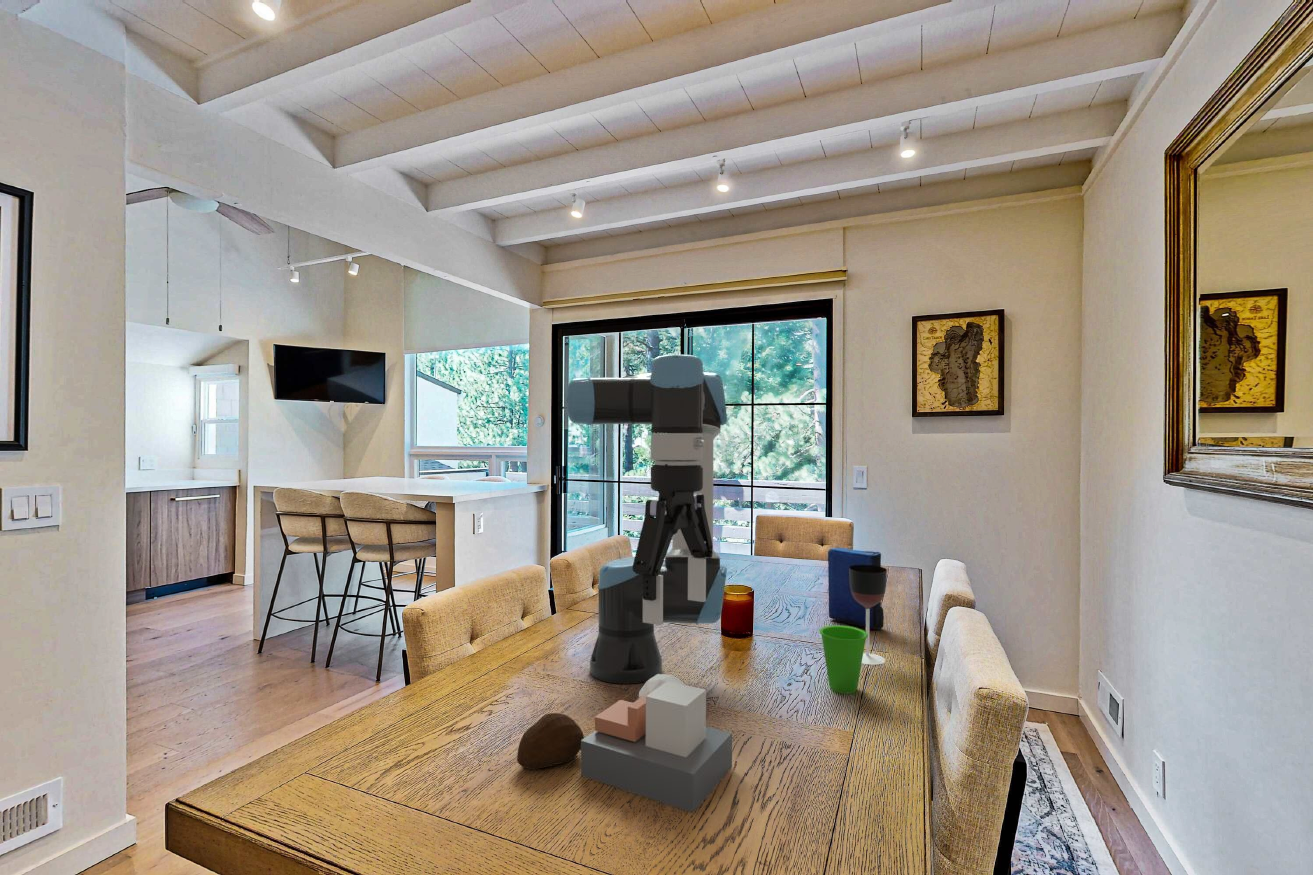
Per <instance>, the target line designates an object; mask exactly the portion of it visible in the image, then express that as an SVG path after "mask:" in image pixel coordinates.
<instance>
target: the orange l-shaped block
mask: <svg viewBox="0 0 1313 875" xmlns="http://www.w3.org/2000/svg"><path fill="white" fill-rule="evenodd" d="M650 693H651V692H648V693H646V694H645V695H644V696H642V697H641V698H639V697H638V699H636V700H635V701H634V702H632V701H627V700H622V699H619V700H618V701H616V702H615V703H613V704H612V705H610V706H609V707H608V708H606V709H604V710H603V711H602V712H600V713H598V714H597V715H596V716H594V731H598V732H602V733H605V734H609V735H612V736H616V737H619V738H623V739H626V740H630V741H633V742H636V741H637V740H638V739H640V738H641V737H642V736H643V735H645V734H646V696H647V695H648V694H650Z"/></svg>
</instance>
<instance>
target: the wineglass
mask: <svg viewBox="0 0 1313 875" xmlns="http://www.w3.org/2000/svg"><path fill="white" fill-rule="evenodd" d="M887 574H888V570H887V568H885V567H883V566H881V567H880V566H874V565H853V566H850V567H849V578H850V588H851V592H852V595H853V597H854V599H855V600H856V601H857V602H858V603H859V604H861V605H863V606H864V607H865V608H866V627H865V632H866V633H867V635H868V637H867V638H866V639H865V652H863V658H862V664H864V665H872V666H874V665H882V664H885V663H886V658H884V657H883V656H881V655H877V654H875V653H870V629H869V616H870V608H871V607H873V606H875V605H877V604H878V603H879V602H881V603H882V601H883V599H884V597H885V593H886V589H887Z"/></svg>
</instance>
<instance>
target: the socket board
mask: <svg viewBox="0 0 1313 875" xmlns="http://www.w3.org/2000/svg"><path fill="white" fill-rule="evenodd" d="M732 768H733V732H729V731H725V730H721V729H719V728H714V727H710V726H706V738H705V739H704V740H703V741H702V742H701V743H700V744H699V745H698V746H697V747H696V748H695V749H694V750H693V751H692V752H691V753H690V754H689V755H688V756H687V757H683V756H679V755H676V754H672V753H669V752H665V751H662V750H658V749H655V748H651V747H648V746H646V734H645V735H643V736H642V737H641V738H640V739H638V740H637V741H636V742H633V741H630V740H626V739H623V738H619V737H616V736H612V735H609V734H605V733H602V732H598V731H595V730H594V731H592V732H591V733H589V734H588V735H587V736H584V739H583V740H581V750H580V776H581V777H584V778H587V779H589V780H593V781H596V782H598V783H602V784H604V785H605V784H606V785H608V786H611V787H613V788H614V787H615V788H617V789H619V790H623V791H626V792H629V793H632V794H634V795H638V796H640V797H644V798H646V799H650V800H653V801H656V802H659V803H661V804H665V805H667V806H671V807H673V808H677V809H680V810H682V811H686V812H688V813H692V814H694V813H695V812H696V811H697V810H698V809H699V807H700V806H701V805H702V804H703V802H704V801H705V800H706V799H707V798H708V796H709V795H710V794H711V793H712V791H713V790H714V789H715V788H716V787H717V786H718V784H719V783H720V782H721V781H722V779H723V778H724V777H725V776H726V775H727V774H728V772H729V771H730V770H731V769H732Z"/></svg>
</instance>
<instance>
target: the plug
mask: <svg viewBox="0 0 1313 875" xmlns="http://www.w3.org/2000/svg"><path fill="white" fill-rule="evenodd" d="M706 727H707V689H705V688H701V687H697V686H696V687H695V686H691V685H686V684H685V685H683V684H678V683H674V682H669V681H667V682H665V683H664V684H663V685H661V686H660V687H658V688H657V689H655V690H654V691H653V692H651V693H650V694H648V695H647V696H646V746H648V747H651V748H655V749H658V750H662V751H665V752H669V753H672V754H676V755H679V756H683V757H687V756H688V755H689V754H690V753H691V752H692V751H693V750H694V749H695V748H696V747H697V746H698V745H699V744H700V743H701V742H702V741H703V740H704V739H705V738H706Z"/></svg>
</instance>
